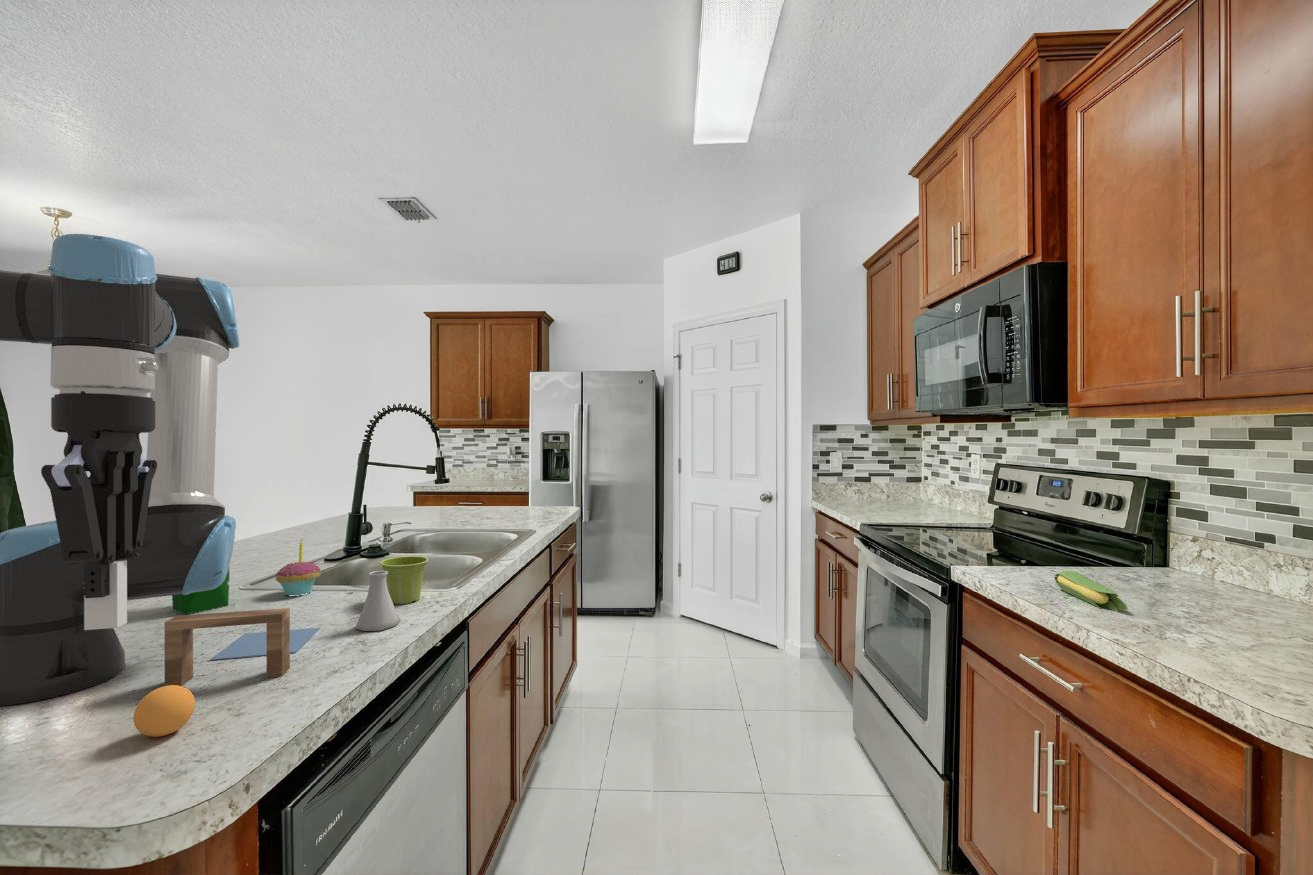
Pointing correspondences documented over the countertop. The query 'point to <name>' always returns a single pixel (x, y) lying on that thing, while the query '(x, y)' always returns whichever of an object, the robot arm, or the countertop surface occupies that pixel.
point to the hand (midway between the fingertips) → (106, 626)
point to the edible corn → (1089, 590)
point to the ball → (164, 710)
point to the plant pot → (404, 578)
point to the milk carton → (202, 599)
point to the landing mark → (262, 644)
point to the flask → (377, 605)
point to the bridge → (182, 626)
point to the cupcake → (298, 576)
